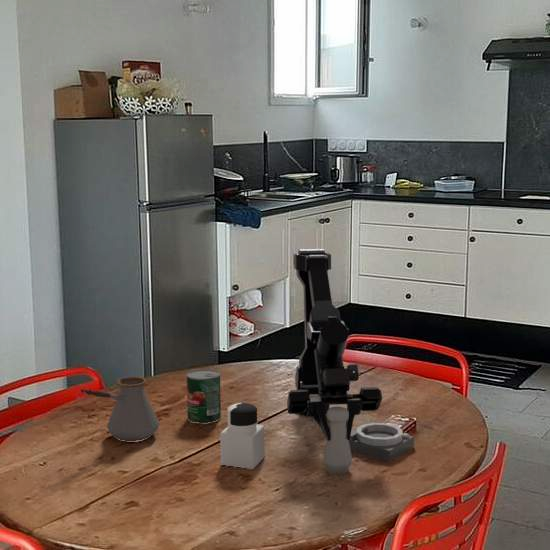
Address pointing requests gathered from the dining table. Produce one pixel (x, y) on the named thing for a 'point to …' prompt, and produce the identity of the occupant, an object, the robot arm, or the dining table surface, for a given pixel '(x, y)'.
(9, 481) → the dining table surface
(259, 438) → the medicine bottle
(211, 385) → the canned tomato
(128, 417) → the coffee pot
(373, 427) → the ringed square socket
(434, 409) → the dining table surface
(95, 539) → the dining table surface
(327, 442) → the salt shaker
